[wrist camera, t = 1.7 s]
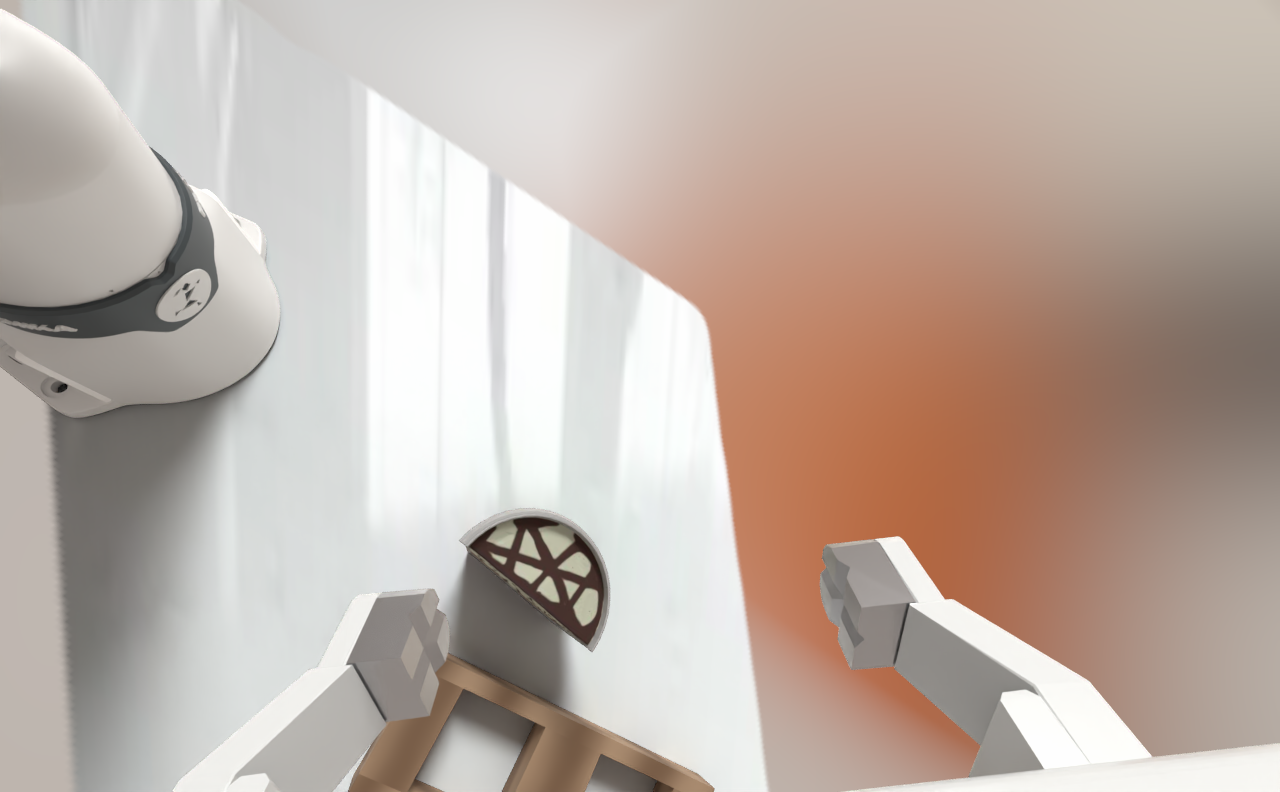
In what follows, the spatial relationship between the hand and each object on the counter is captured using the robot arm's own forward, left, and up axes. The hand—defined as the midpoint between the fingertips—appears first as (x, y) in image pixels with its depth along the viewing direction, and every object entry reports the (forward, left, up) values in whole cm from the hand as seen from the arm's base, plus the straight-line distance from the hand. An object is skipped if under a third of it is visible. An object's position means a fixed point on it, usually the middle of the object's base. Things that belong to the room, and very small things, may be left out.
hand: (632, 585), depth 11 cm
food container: (+4, +2, -37) cm, 37 cm away
